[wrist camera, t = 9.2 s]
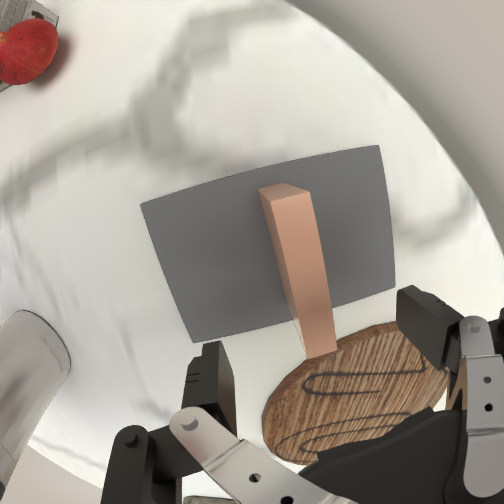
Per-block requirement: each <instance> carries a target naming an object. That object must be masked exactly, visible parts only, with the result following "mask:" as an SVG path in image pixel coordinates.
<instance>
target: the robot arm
mask: <svg viewBox="0 0 504 504" xmlns="http://www.w3.org/2000/svg"><path fill="white" fill-rule="evenodd" d="M396 322H397V326H398V328H399V330H400V331H401V332H402V333H403V334H404V335H405V336H406V338H407V339H408V340H409V341H410V342H411V343H412V344H413V345H414V346H415V347H416V348H417V349H418V350H419V351H420V352H421V353H422V355H423V356H424V357H425V358H426V359H427V360H428V361H429V362H430V363H431V364H432V365H433V367H434V368H435V369H436V370H437V371H438V372H439V371H440V370H442V369H444V368H446V367H448V368H449V371H448V380H447V397H446V407H445V410H442V411H437V412H434V411H433V409H432V408H431V407H430V406H428V407H427V408H425V409H423V410H421V411H419V412H417V413H415V414H413V415H411V416H409V417H407V418H405V419H404V420H403V421H402V422H400V423H399V424H398V425H396V426H395V427H394V428H392V429H391V430H390V431H388V432H387V433H386V434H384V435H383V436H381V437H378V438H373V439H368V440H362V441H356V442H349V443H345V444H342V445H339V446H336V447H333V448H330V449H326V450H323V451H320V452H316V454H317V461H315V462H313V463H311V464H310V465H308V466H306V467H305V468H304V469H302V470H301V471H300V472H299V473H298V474H296V473H294V472H293V471H291V470H290V469H288V468H286V467H285V466H283V465H282V464H280V463H279V462H277V461H276V460H274V459H273V458H271V457H270V456H269V455H267V454H266V453H264V452H263V451H261V450H260V449H259V448H257V447H256V446H255V445H253V444H252V443H250V442H249V441H247V440H245V439H242V440H239V439H238V438H237V425H236V407H235V387H234V376H233V371H232V368H231V365H230V363H229V360H228V357H227V355H226V352H225V349H224V347H223V344H222V342H221V341H216V342H211V343H206V344H203V348H202V356H199V357H194V358H193V360H192V361H191V363H190V364H189V365H188V369H187V376H186V381H185V382H186V384H185V388H184V394H183V400H182V407H181V410H180V411H178V412H177V413H175V414H174V415H173V417H172V418H171V420H170V423H169V425H167V426H165V427H162V428H159V429H156V430H153V431H150V432H148V431H147V430H146V429H145V428H144V427H142V426H139V425H131V426H127V427H125V428H123V429H122V430H120V431H119V432H118V434H117V435H116V437H115V439H114V443H113V447H112V451H111V455H110V459H109V464H108V468H107V473H106V478H105V482H104V487H103V493H102V498H101V504H182V477H185V476H188V475H191V474H194V473H197V472H200V471H203V470H204V471H205V473H206V474H207V475H208V476H209V477H210V478H211V479H212V480H213V481H215V482H216V483H217V484H218V485H219V486H220V487H221V488H222V489H223V490H224V491H225V492H226V493H227V494H228V495H229V496H231V497H232V498H233V499H234V500H235V501H236V502H237V503H238V504H504V307H503V308H502V309H501V311H500V315H499V319H496V320H493V321H489V322H487V321H486V320H485V319H484V318H482V317H479V316H468V317H464V316H462V315H461V314H460V313H458V312H457V311H456V310H454V309H453V308H452V307H450V306H449V305H446V303H445V302H443V301H441V300H440V299H439V298H438V297H436V296H435V295H434V294H431V293H428V292H424V291H423V292H422V291H421V290H420V289H418V288H417V287H415V286H414V285H410V286H408V287H405V288H402V289H400V290H398V291H397V302H396ZM69 371H70V359H69V356H68V353H67V350H66V348H65V346H64V344H63V343H62V341H61V340H60V338H59V337H58V335H57V334H56V333H55V332H54V330H53V329H52V328H51V327H50V326H49V325H48V324H47V323H46V322H45V321H43V320H42V319H41V318H40V317H38V316H36V315H35V314H33V313H30V312H27V311H18V312H16V313H15V314H14V315H13V316H11V317H10V318H9V319H8V320H7V321H6V322H5V323H4V324H2V325H1V326H0V501H1V499H2V497H3V494H4V492H5V487H6V486H7V484H8V482H9V480H10V477H11V475H12V473H13V471H14V469H15V466H16V464H17V462H18V460H19V458H20V456H21V454H22V452H23V450H24V448H25V446H26V444H27V442H28V440H29V439H30V437H31V435H32V433H33V431H34V429H35V428H36V426H37V424H38V422H39V420H40V419H41V417H42V415H43V413H44V412H45V410H46V408H47V407H48V405H49V403H50V402H51V400H52V398H53V397H54V395H55V394H56V392H57V390H58V389H59V387H60V386H61V384H62V382H63V381H64V379H65V378H66V376H67V375H68V373H69Z"/></svg>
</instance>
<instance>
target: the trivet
mask: <svg viewBox="0 0 504 504" xmlns="http://www.w3.org/2000/svg"><path fill="white" fill-rule="evenodd" d="M336 343H337V350H336V351H333V352H330V353H327V354H324V355H321V356H317V357H314V358H311V359H307V360H305V361H304V362H303V363H302V364H301V365H299V366H298V367H297V368H296V369H295V370H293V371H292V372H291V373H290V374H289V375H287V376H286V377H285V378H284V379H283V381H282V382H281V383H280V384H279V386H278V387H277V388H276V389H275V391H274V392H273V393H272V394H271V396H270V397H269V399H268V401H267V404H266V406H265V409H264V412H263V414H262V428H263V439H264V442H265V444H266V445H267V447H268V448H269V450H270V451H271V453H273V454H274V455H276V456H277V457H279V458H281V459H282V460H284V461H287V462H291V463H294V464H298V465H307V466H308V465H310V464H311V463H313V462H315V461H317V454H316V452H320V451H323V450H326V449H330V448H333V447H336V446H339V445H342V444H345V443H349V442H356V441H362V440H368V439H373V438H378V437H381V436H383V435H384V434H386V433H387V432H388V431H390V430H391V429H392V428H394V427H395V426H396V425H398V424H399V423H400V422H402V421H403V420H404V419H405V418H407V417H409V416H411V415H413V414H415V413H417V412H419V411H421V410H423V409H425V408H427V407H428V406H430V407H431V408H432V409H433V408H434V407H435V405H436V404H437V402H438V401H439V400H440V398H441V397H442V395H443V393H444V391H445V389H446V387H447V380H448V371H449V368H448V367H446V368H444V369H442V370H440V371H439V372H438V371H437V370H436V369H435V368H434V367H433V365H432V364H431V363H430V362H429V361H428V360H427V359H426V358H425V357H424V356H423V355H422V353H421V352H420V351H419V350H418V349H417V348H416V347H415V346H414V345H413V344H412V343H411V342H410V341H409V340H408V339H407V338H406V336H405V335H404V334H403V333H402V332H401V331H400V330H399V328H398V326H397V322H396V321H394V322H389V323H384V324H379V325H374V326H370V327H368V328H366V329H363V330H361V331H358V332H356V333H354V334H351V335H348V336H346V337H343V338H341V339H339V340H337V341H336Z"/></svg>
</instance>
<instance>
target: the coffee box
mask: <svg viewBox="0 0 504 504" xmlns="http://www.w3.org/2000/svg"><path fill="white" fill-rule="evenodd" d="M32 18H39V19H43V20H46V21H48V22H50V23H51V24H53V25H54V26H55V27H56V23H57V20H58V16H57V15H55V14H54V13H52V12H51V11H50V10H48V9H47V8H45V7H44V6H43V5H41V4H40V3H38V2H37V1H35V0H0V32H1V31H2V32H6V31H7V30H9V29H10V28H11V27H12V26H14V25H15V24H17V23H19V22H22V21H25V20H28V19H32ZM8 86H9V84H7V83H5V82H4V81H2V80H1V79H0V91H1V90H3V89H5V88H6V87H8Z"/></svg>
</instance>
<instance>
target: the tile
mask: <svg viewBox="0 0 504 504" xmlns="http://www.w3.org/2000/svg"><path fill="white" fill-rule="evenodd" d="M258 192H259V196H260V200H261V203H262V207H263V211H264V215H265V218H266V222H267V226H268V230H269V234H270V237H271V241H272V245H273V249H274V253H275V257H276V261H277V265H278V269H279V273H280V277H281V280H282V284H283V288H284V293H285V297H286V301H287V304H288V307H289V310H290V312H291V315H292V318H293V321H294V323H295V326H296V329H297V332H298V334H299V337H300V340H301V343H302V346H303V348H304V351H305V354H306V357H307V359H311V358H314V357H317V356H321V355H324V354H327V353H330V352H333V351H336V350H337V343H336V335H335V328H334V320H333V314H332V307H331V300H330V294H329V288H328V282H327V276H326V270H325V265H324V259H323V254H322V248H321V243H320V238H319V233H318V228H317V224H316V219H315V214H314V210H313V205H312V201H311V196H310V192H309V191H306V190H303V189H301V188H298V187H295V186H292V185H289V184H286V183H284V182H282V183H278V184H274V185H270V186H267V187H263V188H259V189H258Z"/></svg>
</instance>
